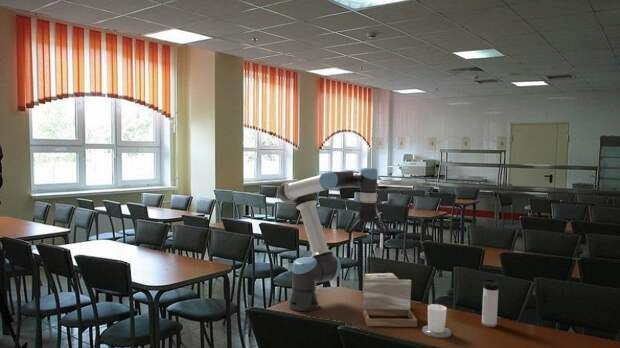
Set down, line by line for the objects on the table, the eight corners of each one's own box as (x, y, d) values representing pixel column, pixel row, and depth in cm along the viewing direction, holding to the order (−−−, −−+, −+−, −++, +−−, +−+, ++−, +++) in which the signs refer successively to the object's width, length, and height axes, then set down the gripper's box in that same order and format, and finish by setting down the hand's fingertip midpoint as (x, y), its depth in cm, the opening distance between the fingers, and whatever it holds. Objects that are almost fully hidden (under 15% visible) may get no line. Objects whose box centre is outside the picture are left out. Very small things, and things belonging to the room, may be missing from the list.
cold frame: (362, 313, 221) (363, 278, 220) (408, 314, 221) (410, 279, 220) (367, 325, 206) (368, 288, 205) (416, 326, 206) (418, 289, 205)
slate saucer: (419, 326, 206) (419, 324, 206) (445, 327, 207) (446, 324, 207) (426, 337, 195) (426, 335, 194) (455, 338, 195) (455, 336, 195)
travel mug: (496, 322, 213) (498, 279, 212) (496, 328, 207) (499, 283, 206) (481, 320, 215) (483, 278, 214) (481, 325, 209) (483, 282, 208)
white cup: (446, 334, 196) (447, 311, 195) (427, 332, 198) (428, 309, 197) (444, 327, 204) (445, 305, 203) (426, 325, 205) (427, 303, 205)
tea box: (391, 300, 241) (393, 272, 240) (398, 307, 231) (399, 278, 230) (363, 301, 239) (364, 272, 238) (368, 308, 229) (369, 278, 228)
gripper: (341, 202, 208) (340, 249, 210) (396, 203, 209) (395, 250, 210) (340, 200, 216) (338, 245, 217) (393, 201, 217) (391, 246, 218)
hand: (366, 247), depth 214 cm, fingers open, 13 cm apart
